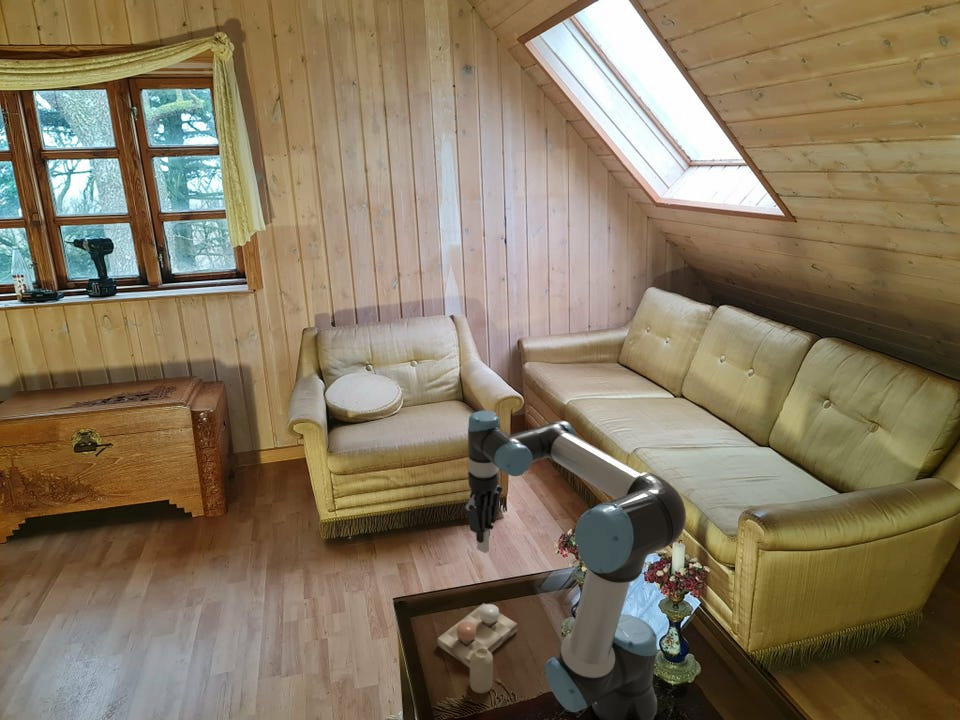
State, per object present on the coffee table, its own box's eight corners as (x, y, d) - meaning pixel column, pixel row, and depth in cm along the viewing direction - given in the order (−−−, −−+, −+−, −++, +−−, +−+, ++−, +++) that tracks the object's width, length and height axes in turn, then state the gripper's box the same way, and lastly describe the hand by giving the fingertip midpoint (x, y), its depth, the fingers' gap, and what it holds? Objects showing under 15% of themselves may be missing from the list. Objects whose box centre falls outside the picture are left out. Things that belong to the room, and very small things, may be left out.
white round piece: (502, 624, 191) (502, 610, 189) (490, 634, 188) (490, 619, 186) (488, 615, 194) (488, 601, 193) (476, 625, 191) (476, 611, 189)
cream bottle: (490, 695, 171) (490, 663, 167) (467, 691, 172) (467, 659, 168) (494, 677, 176) (494, 646, 172) (472, 674, 177) (472, 642, 173)
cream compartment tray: (517, 630, 191) (517, 623, 190) (471, 669, 178) (471, 661, 178) (483, 610, 198) (483, 603, 198) (437, 645, 186) (437, 638, 185)
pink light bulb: (480, 642, 185) (480, 627, 183) (466, 653, 182) (466, 638, 180) (465, 633, 188) (465, 618, 186) (452, 643, 185) (452, 628, 183)
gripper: (488, 456, 185) (487, 533, 193) (454, 476, 175) (455, 556, 184) (511, 465, 180) (509, 544, 189) (478, 486, 171) (477, 567, 179)
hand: (482, 549), depth 186 cm, fingers closed
